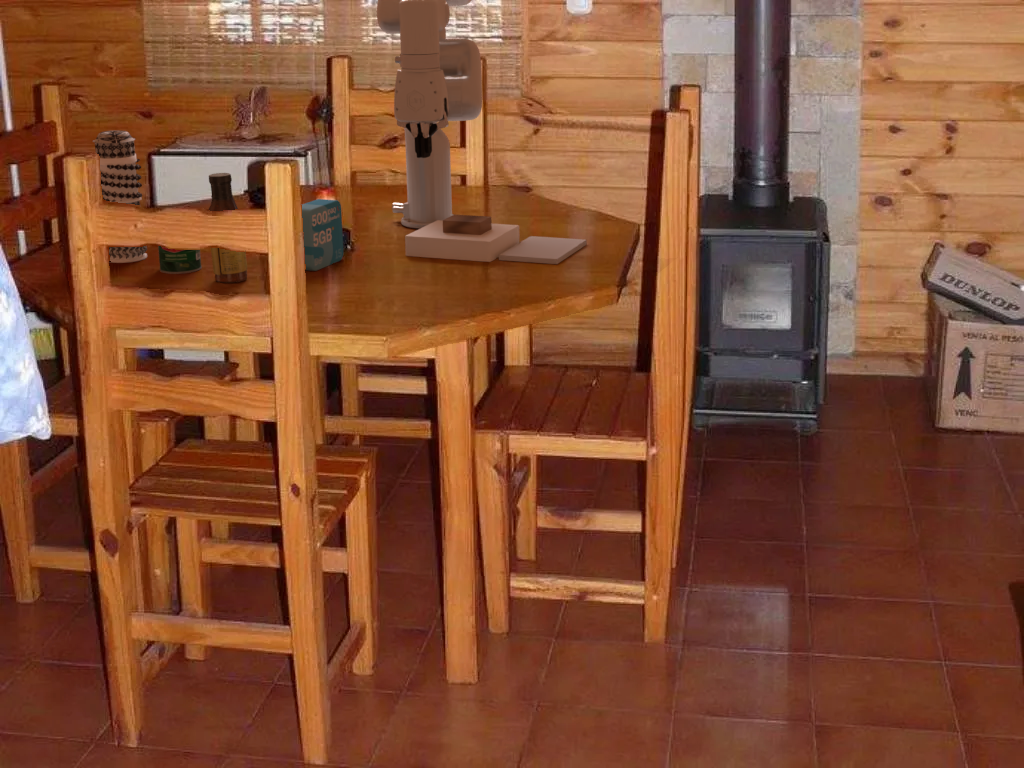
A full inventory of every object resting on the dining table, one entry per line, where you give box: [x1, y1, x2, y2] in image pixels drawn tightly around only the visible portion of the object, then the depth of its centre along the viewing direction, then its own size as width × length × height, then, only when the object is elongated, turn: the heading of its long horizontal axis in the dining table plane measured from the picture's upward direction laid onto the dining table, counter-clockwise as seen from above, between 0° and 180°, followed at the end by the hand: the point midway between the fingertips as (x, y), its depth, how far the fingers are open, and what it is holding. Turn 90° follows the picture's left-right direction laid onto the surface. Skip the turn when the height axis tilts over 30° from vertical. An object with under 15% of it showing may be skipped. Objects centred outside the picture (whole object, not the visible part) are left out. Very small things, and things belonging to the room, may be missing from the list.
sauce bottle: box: [208, 172, 248, 284], centre depth 274 cm, size 6×6×20 cm
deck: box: [404, 220, 520, 263], centre depth 297 cm, size 18×16×4 cm
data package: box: [301, 198, 344, 272], centre depth 286 cm, size 12×4×12 cm, turn 156°
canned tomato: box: [157, 245, 202, 275], centre depth 284 cm, size 8×8×11 cm
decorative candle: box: [92, 130, 148, 264], centre depth 292 cm, size 9×9×25 cm
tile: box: [443, 213, 493, 235], centre depth 296 cm, size 8×6×2 cm
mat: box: [498, 235, 587, 265], centre depth 295 cm, size 12×18×1 cm, turn 159°
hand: (423, 156), depth 295 cm, fingers closed
